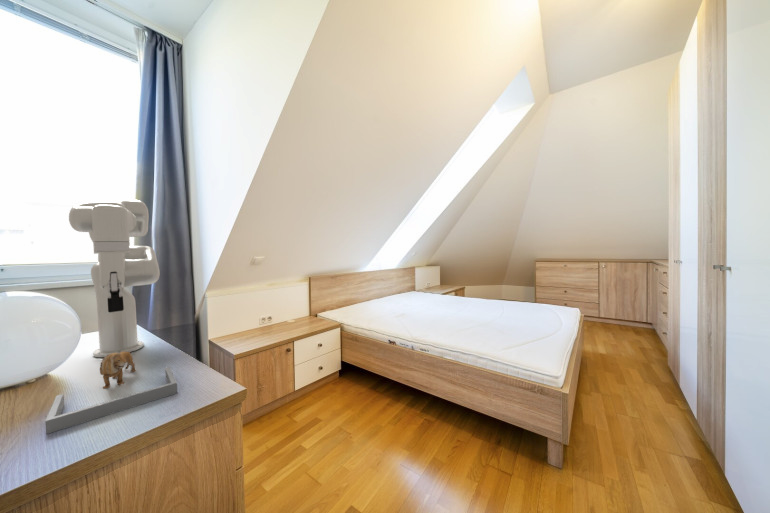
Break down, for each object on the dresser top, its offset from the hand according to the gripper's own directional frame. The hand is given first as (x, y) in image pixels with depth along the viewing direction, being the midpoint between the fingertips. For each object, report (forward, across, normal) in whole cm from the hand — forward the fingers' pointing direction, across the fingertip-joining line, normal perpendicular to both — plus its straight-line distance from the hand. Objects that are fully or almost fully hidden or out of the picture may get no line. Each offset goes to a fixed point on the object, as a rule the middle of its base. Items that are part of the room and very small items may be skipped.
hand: (116, 310), depth 80 cm
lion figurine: (+17, +12, 0) cm, 21 cm away
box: (+17, +24, 0) cm, 29 cm away
